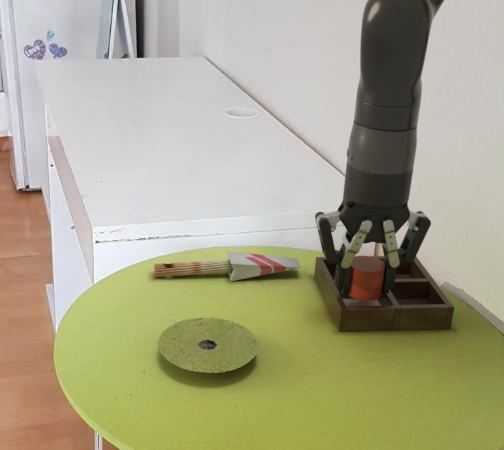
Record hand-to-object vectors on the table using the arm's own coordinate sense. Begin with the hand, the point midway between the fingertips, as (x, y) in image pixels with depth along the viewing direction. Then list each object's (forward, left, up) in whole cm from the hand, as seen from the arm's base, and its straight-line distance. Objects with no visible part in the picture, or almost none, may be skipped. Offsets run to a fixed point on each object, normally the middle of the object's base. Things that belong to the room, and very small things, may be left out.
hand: (363, 290), depth 93 cm
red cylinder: (0, 0, 0) cm, 0 cm away
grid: (-3, -3, -4) cm, 6 cm away
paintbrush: (+16, -11, -4) cm, 20 cm away
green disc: (+20, +8, -4) cm, 22 cm away
